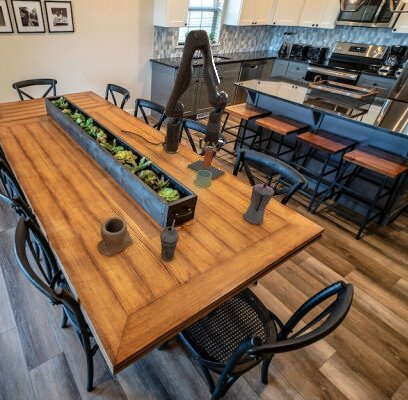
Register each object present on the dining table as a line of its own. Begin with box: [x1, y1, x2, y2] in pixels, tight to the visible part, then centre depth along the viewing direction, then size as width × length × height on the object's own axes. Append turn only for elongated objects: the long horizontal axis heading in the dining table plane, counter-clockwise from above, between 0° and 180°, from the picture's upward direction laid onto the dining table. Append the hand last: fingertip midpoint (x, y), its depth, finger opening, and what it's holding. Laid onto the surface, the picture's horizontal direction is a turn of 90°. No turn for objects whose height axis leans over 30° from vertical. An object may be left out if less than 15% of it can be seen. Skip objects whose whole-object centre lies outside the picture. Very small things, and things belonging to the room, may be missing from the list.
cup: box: [194, 170, 212, 188], centre depth 154 cm, size 9×9×6 cm
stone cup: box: [96, 216, 133, 257], centre depth 108 cm, size 15×12×15 cm
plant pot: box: [202, 146, 214, 168], centre depth 162 cm, size 6×6×11 cm
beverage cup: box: [159, 219, 180, 262], centre depth 104 cm, size 7×7×20 cm
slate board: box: [187, 159, 226, 181], centre depth 167 cm, size 20×12×2 cm, turn 44°
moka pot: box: [243, 183, 275, 225], centre depth 126 cm, size 10×15×20 cm, turn 161°
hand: (208, 155), depth 162 cm, fingers closed on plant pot, 6 cm apart
